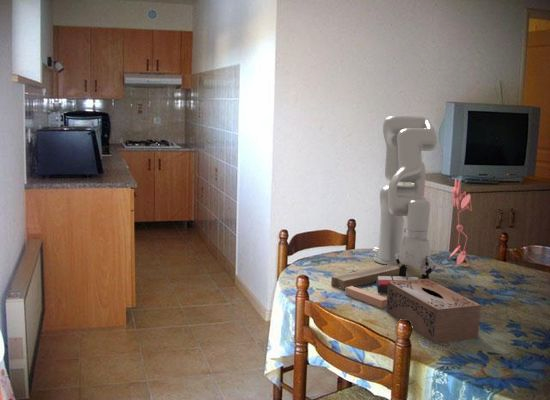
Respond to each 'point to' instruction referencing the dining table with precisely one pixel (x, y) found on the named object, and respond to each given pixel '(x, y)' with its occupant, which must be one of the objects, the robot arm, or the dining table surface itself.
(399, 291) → the tissue box cover
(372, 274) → the brown wooden plank
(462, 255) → the leafy plant stem
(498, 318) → the dining table surface
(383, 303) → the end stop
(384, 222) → the robot arm
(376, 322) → the dining table surface
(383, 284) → the calculator
